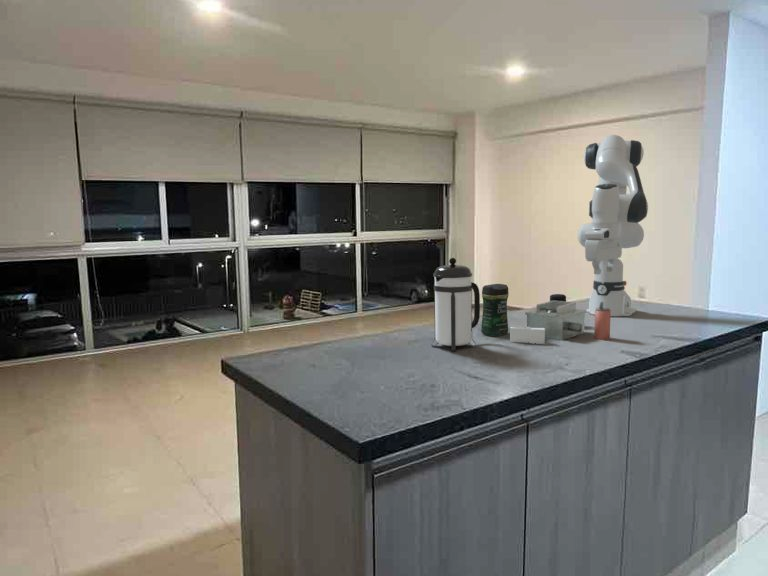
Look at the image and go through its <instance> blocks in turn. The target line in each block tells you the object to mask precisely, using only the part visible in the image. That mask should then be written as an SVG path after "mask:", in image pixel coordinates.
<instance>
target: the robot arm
mask: <svg viewBox="0 0 768 576" xmlns="http://www.w3.org/2000/svg"><path fill="white" fill-rule="evenodd" d="M644 155H645V153H644V147H643V145H642V143H641V142H640V141H638V140H633V139H631V140H625V139H624V138H623V137H622V136H620V135H618V134H617V135H616V134H610V135H607V136H605V137H604V138H603V139H602V140H601V142H598V143H597V142H594V143H591V144H588V145H587V146H586V147H585V150H584V153H583V162H584V164H585V167H586V168H587V169H589V170H595V171H596V173H597V175H598V176H599V178H598V182H597V183H598V184H597V185H595V186H594V188H593V195H592V199H591V200H590V201H589V207H588V208H589V209H588V211H589V212H588V216H589V217H590V218H591V219H592V220H591V222H588V223H584V224H582V225H581V226H580V228H579V229H578V232H577V240H578V242H579V244H580V245H581V246H582V247H583V248H584V255H585V260H586V261H587V262H592V263H591V264H592V268H593V274H594V280H593V283H592V285H593V286H592V288H593V290H592V291H591V292H590V293H589V294H590V295H589V303H588V308H586V313H589V314H591V315H593V316H595V309H596V308H599V302H603V308H609V309H610V310H611V315H610V317H631V316H632V315H633V314H635V313H636V312H637V308H635V307H632V298H631V297H630V295H629V294H628V293H627V292H626V290H625V289H626V288H625V286H627V280H624V262H622V260H621V259H620V258H621V257H622V253H623V251H622V250H623V249H629V248H630V249H631V248H636V247H639V246H640V245H641V244H642V242H643V240H644V237H645V232H644V228H643V227H642V225H641V224H640V222H642V220H643V221H644V219H646V217H647V215H648V212H649V203H648V200H647V197H646V195H645V193H644V187H643V185H642V184H643V183H642V180H641V176H640V172H639V170H638V166H639V165H640V164H641V162H642V160H643V157H644ZM627 187H628V189H629V193H627Z"/></svg>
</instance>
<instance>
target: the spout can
mask: <svg viewBox="0 0 768 576" xmlns="http://www.w3.org/2000/svg"><path fill="white" fill-rule="evenodd" d="M610 315H611V310H610V309H609V308H603V302H599V308H596V309H595V315H594V335H593V336H594V337H593V338H594V339H595V340H597V341H598V340H599V341H600V340H601V341H608V340H610V338H611V316H610Z"/></svg>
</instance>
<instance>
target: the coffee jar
mask: <svg viewBox="0 0 768 576" xmlns="http://www.w3.org/2000/svg"><path fill="white" fill-rule="evenodd" d="M481 298H482V316H481V317H482V318H481V328H480V331H481V334H483V335H484V336H487V337H488V336H493V337H497V336H503V335H507V334H508V333H509V321H508V299H509V287H508V285H507V284H503V283H494V284H493V283H492V284H486V285H483V287H482V289H481Z"/></svg>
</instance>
